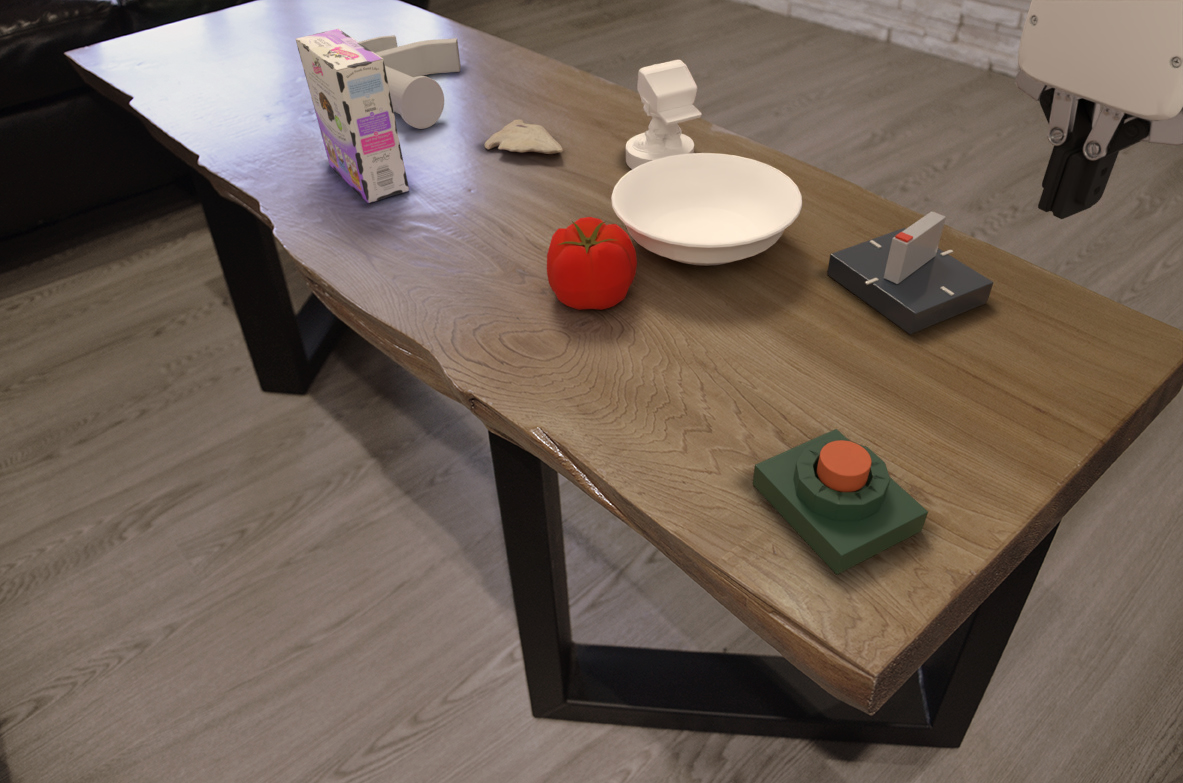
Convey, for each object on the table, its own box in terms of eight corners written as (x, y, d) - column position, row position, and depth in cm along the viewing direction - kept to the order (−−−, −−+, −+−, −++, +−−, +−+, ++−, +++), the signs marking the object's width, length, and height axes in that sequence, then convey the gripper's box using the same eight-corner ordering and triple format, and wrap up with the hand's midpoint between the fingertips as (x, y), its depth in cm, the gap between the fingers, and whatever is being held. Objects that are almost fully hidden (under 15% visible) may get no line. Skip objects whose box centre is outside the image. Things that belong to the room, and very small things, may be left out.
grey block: (921, 250, 86) (932, 208, 83) (935, 256, 85) (947, 214, 82) (883, 278, 83) (892, 235, 79) (897, 284, 82) (908, 242, 78)
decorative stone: (522, 134, 118) (517, 113, 116) (585, 145, 111) (581, 123, 109) (479, 158, 114) (474, 136, 112) (542, 171, 107) (537, 149, 105)
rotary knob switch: (991, 301, 83) (999, 278, 82) (905, 336, 80) (911, 314, 78) (904, 245, 91) (909, 224, 90) (821, 276, 88) (825, 253, 86)
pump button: (877, 480, 61) (882, 464, 60) (839, 499, 60) (842, 482, 59) (844, 450, 64) (848, 433, 63) (806, 467, 63) (809, 451, 61)
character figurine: (672, 139, 113) (675, 48, 105) (710, 167, 107) (716, 72, 99) (614, 154, 110) (612, 61, 102) (649, 184, 104) (650, 88, 96)
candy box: (411, 191, 105) (385, 57, 94) (367, 206, 102) (334, 70, 92) (368, 152, 114) (340, 25, 103) (327, 164, 111) (293, 36, 100)
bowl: (816, 222, 96) (824, 170, 92) (763, 318, 83) (769, 262, 78) (654, 190, 103) (655, 140, 99) (581, 274, 90) (578, 221, 85)
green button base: (922, 531, 62) (934, 494, 60) (836, 575, 60) (845, 539, 57) (832, 447, 69) (840, 411, 66) (752, 484, 66) (756, 448, 64)
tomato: (582, 263, 91) (579, 200, 86) (652, 288, 87) (652, 224, 82) (527, 305, 86) (521, 241, 81) (599, 335, 82) (596, 269, 77)
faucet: (397, 84, 113) (308, 45, 127) (406, 134, 117) (319, 91, 132) (515, 50, 123) (421, 18, 138) (519, 97, 127) (427, 61, 142)
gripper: (1410, -132, 36) (1224, 242, 48) (1097, -167, 46) (1007, 149, 58) (1309, -106, 34) (1138, 283, 46) (1001, -149, 44) (927, 178, 56)
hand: (1065, 207), depth 52 cm, fingers closed
